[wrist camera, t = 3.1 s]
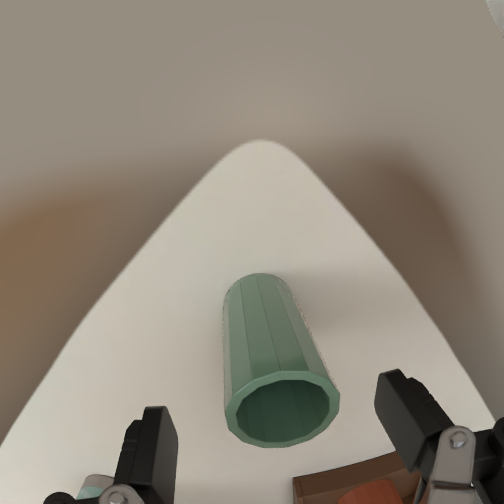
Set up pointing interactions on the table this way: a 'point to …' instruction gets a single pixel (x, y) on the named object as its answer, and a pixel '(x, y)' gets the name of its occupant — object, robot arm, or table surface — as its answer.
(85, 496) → the coffee cup
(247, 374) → the small cup
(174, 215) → the table surface
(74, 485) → the table surface
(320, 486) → the tray
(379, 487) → the tumbler
